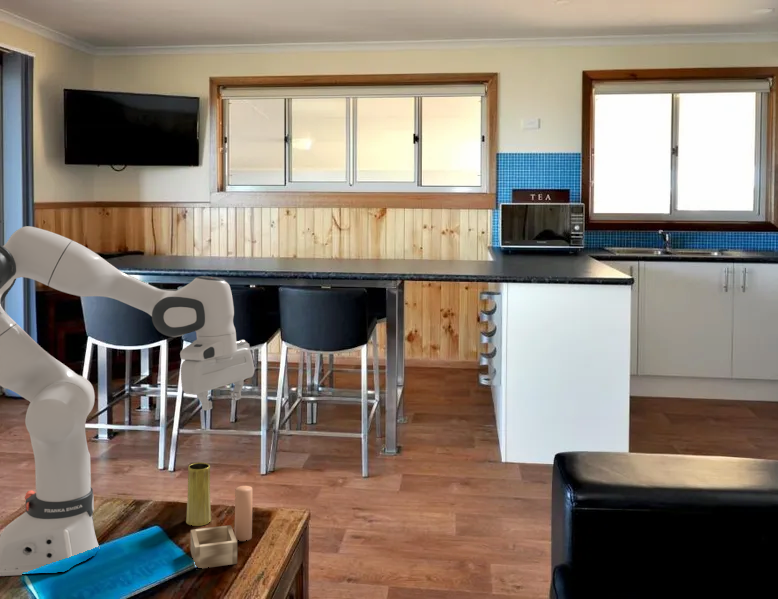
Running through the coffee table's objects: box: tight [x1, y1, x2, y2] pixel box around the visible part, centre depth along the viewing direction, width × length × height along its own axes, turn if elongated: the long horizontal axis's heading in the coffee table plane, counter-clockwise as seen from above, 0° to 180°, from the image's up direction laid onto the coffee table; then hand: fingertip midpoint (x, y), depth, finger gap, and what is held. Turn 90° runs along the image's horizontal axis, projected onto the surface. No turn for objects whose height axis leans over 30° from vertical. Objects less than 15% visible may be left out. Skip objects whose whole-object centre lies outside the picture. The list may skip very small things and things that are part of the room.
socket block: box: [190, 524, 238, 569], centre depth 160 cm, size 9×9×5 cm
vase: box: [185, 462, 212, 527], centre depth 178 cm, size 6×6×14 cm
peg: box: [234, 485, 254, 542], centre depth 170 cm, size 4×4×12 cm
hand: (222, 404), depth 167 cm, fingers open, 8 cm apart
